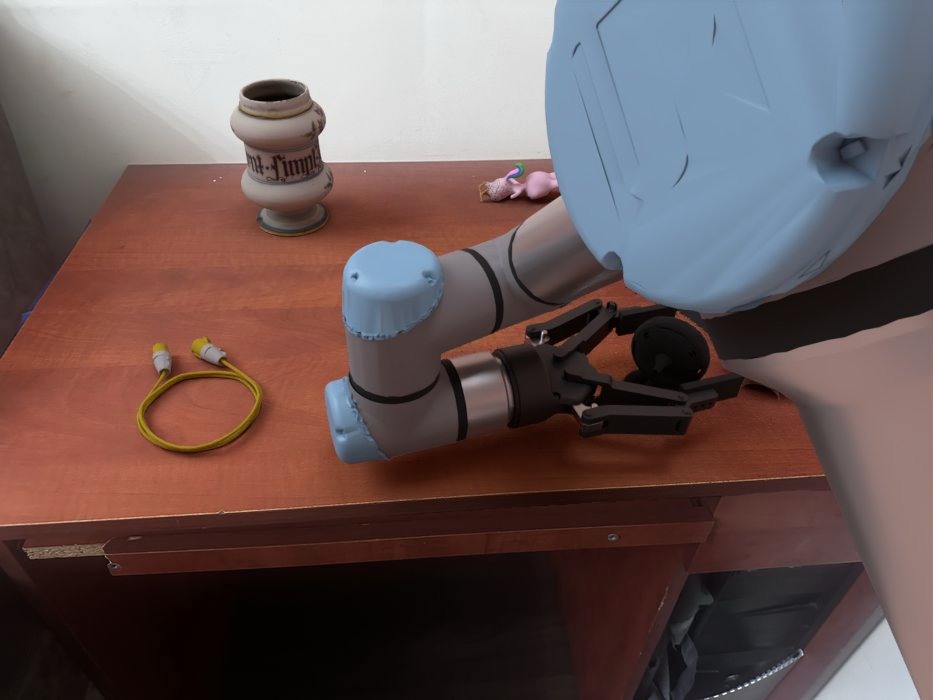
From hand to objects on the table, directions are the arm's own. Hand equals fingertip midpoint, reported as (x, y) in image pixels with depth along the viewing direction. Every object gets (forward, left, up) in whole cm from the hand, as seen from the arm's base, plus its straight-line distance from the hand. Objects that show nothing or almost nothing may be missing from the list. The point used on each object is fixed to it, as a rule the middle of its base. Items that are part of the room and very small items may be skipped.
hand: (704, 346), depth 71 cm
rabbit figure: (+43, -9, -6) cm, 44 cm away
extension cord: (+23, +44, -6) cm, 50 cm away
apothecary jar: (+53, +24, -6) cm, 58 cm away
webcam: (+1, +4, -6) cm, 7 cm away
